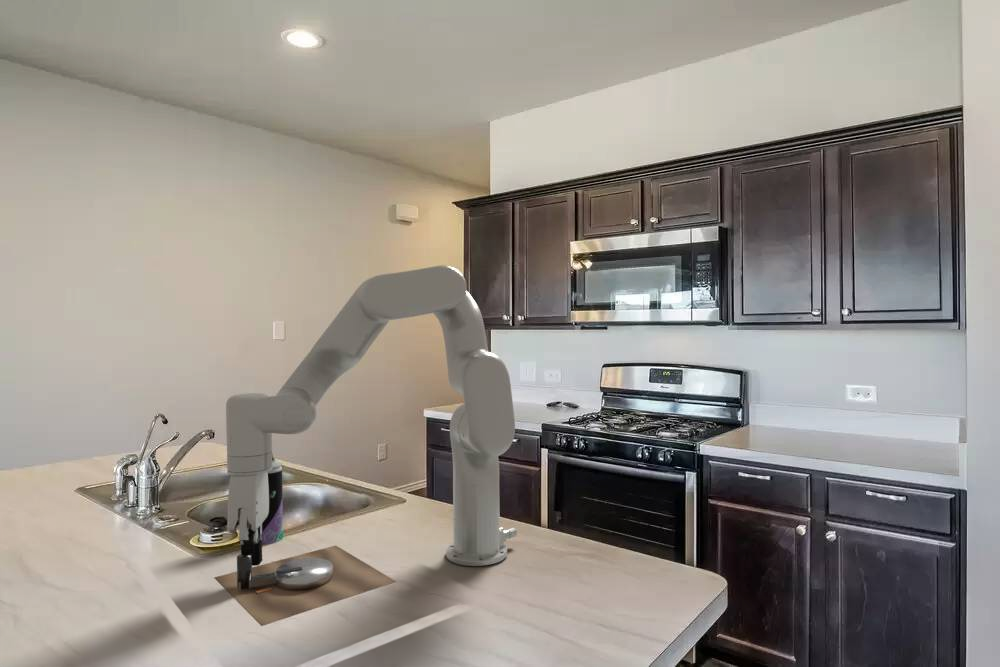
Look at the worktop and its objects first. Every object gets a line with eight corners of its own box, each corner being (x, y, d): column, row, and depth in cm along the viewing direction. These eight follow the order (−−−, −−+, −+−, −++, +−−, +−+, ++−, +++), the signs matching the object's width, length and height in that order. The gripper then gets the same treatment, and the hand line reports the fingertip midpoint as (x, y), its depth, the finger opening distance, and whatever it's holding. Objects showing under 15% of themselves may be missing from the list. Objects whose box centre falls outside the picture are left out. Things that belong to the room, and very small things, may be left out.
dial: (328, 563, 118) (327, 533, 118) (337, 583, 109) (336, 551, 109) (236, 578, 111) (236, 547, 111) (237, 601, 102) (237, 567, 102)
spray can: (274, 551, 129) (272, 457, 128) (250, 550, 130) (249, 456, 130) (288, 542, 134) (286, 451, 134) (265, 541, 135) (264, 450, 135)
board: (335, 552, 128) (335, 544, 128) (396, 589, 110) (396, 580, 110) (214, 585, 112) (214, 576, 112) (261, 635, 94) (261, 624, 94)
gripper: (240, 454, 117) (242, 550, 117) (213, 473, 102) (216, 582, 102) (281, 453, 118) (282, 547, 118) (260, 472, 103) (262, 580, 103)
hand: (251, 563), depth 110 cm, fingers closed
